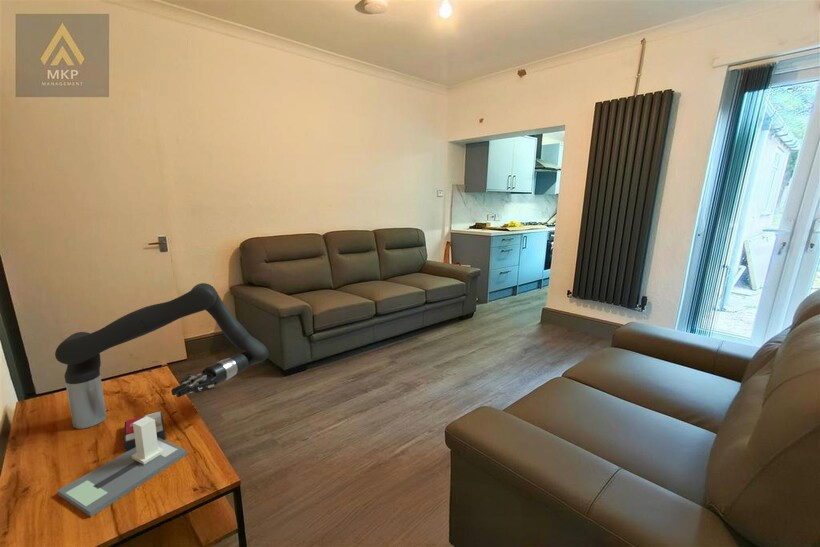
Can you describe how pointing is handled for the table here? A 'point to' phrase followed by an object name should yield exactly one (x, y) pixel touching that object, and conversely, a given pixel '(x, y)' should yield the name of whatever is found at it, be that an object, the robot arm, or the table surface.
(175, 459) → the switch panel
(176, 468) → the table surface
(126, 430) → the calculator
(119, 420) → the table surface
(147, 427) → the switch slider
